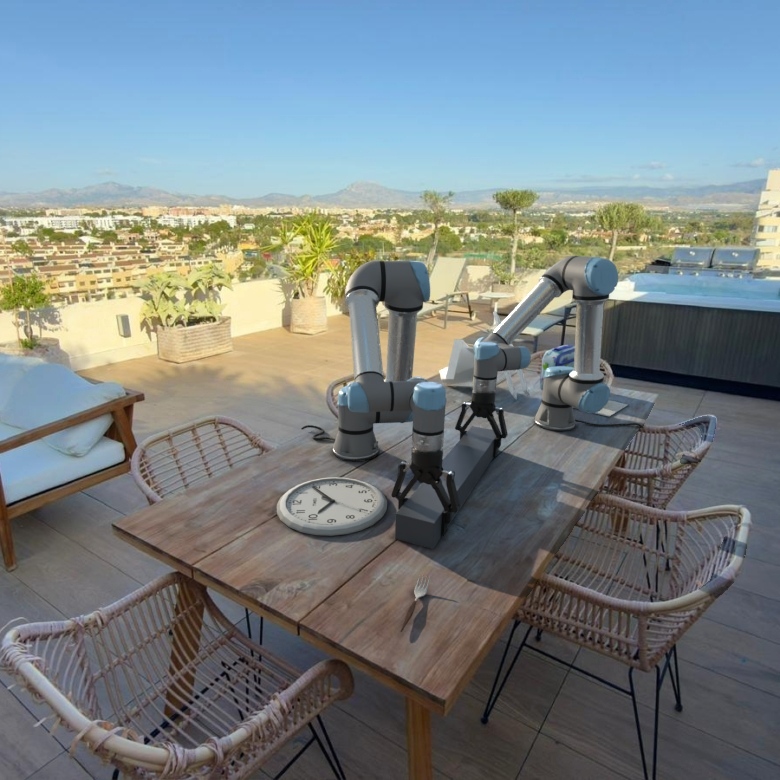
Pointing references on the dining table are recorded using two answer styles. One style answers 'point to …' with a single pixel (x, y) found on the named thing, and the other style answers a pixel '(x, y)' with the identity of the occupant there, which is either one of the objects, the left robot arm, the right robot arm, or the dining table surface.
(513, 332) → the right robot arm
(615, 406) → the invitation card
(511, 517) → the dining table surface
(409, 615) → the fork
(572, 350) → the lunch box
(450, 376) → the white plastic object
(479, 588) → the dining table surface
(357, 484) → the wall clock
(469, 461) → the wide beam
